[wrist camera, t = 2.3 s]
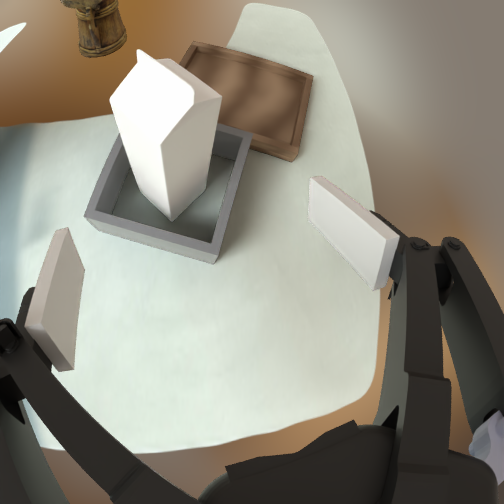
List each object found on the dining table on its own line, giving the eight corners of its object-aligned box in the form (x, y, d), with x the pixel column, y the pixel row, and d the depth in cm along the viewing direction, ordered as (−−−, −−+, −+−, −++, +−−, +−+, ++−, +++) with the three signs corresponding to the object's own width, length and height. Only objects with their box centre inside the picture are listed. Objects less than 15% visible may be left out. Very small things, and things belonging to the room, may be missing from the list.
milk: (172, 223, 37) (155, 119, 16) (139, 191, 37) (98, 72, 15) (206, 189, 38) (230, 68, 17) (173, 159, 38) (169, 28, 17)
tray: (153, 122, 39) (152, 112, 36) (192, 51, 42) (193, 41, 40) (291, 162, 42) (297, 154, 39) (308, 85, 45) (313, 76, 43)
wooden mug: (70, 81, 37) (41, -1, 20) (84, 32, 39) (69, -41, 22) (121, 71, 39) (107, -18, 22) (129, 24, 41) (124, -53, 24)
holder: (98, 230, 35) (83, 216, 29) (140, 129, 38) (134, 103, 32) (213, 264, 37) (218, 255, 31) (244, 156, 40) (253, 133, 34)
